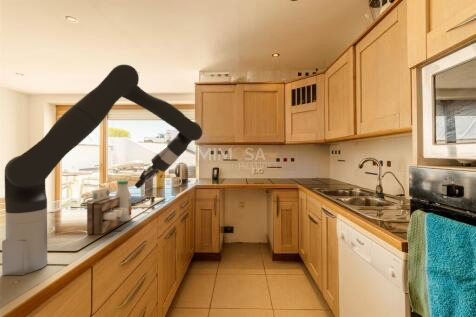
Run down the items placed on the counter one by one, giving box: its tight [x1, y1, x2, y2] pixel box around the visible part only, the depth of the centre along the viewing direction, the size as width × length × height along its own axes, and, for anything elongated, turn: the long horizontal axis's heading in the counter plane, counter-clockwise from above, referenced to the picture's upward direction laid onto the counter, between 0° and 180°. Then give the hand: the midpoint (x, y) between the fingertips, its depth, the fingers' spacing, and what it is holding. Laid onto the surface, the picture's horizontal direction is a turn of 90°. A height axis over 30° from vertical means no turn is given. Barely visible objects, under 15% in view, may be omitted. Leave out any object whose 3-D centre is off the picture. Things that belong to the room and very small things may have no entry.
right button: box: [114, 208, 127, 214], centre depth 113 cm, size 3×5×3 cm, turn 88°
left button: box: [102, 212, 117, 220], centre depth 104 cm, size 3×5×3 cm, turn 88°
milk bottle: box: [114, 180, 132, 223], centre depth 123 cm, size 8×8×20 cm
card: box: [91, 186, 111, 203], centre depth 109 cm, size 12×1×5 cm, turn 178°
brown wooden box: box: [86, 196, 121, 235], centre depth 109 cm, size 15×6×13 cm, turn 178°
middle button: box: [108, 210, 122, 217], centre depth 109 cm, size 3×5×3 cm, turn 88°
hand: (137, 186), depth 103 cm, fingers closed
